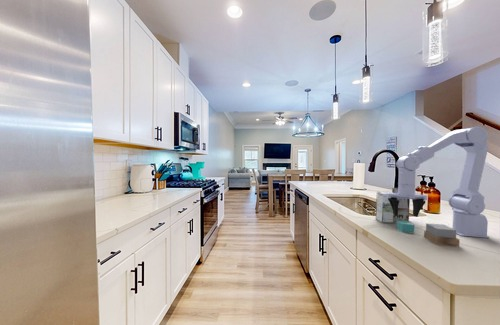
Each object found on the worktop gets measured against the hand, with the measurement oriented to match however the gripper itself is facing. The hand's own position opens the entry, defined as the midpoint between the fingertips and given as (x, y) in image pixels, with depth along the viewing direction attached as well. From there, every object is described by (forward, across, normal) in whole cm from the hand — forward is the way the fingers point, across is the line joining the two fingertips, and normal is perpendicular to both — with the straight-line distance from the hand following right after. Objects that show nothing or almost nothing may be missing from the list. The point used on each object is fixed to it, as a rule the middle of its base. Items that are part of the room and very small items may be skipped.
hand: (405, 215), depth 87 cm
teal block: (+7, 0, 0) cm, 7 cm away
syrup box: (+7, -3, +12) cm, 14 cm away
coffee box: (+7, +5, +14) cm, 16 cm away
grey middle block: (+4, +7, -10) cm, 13 cm away
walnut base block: (+7, +7, -10) cm, 14 cm away
